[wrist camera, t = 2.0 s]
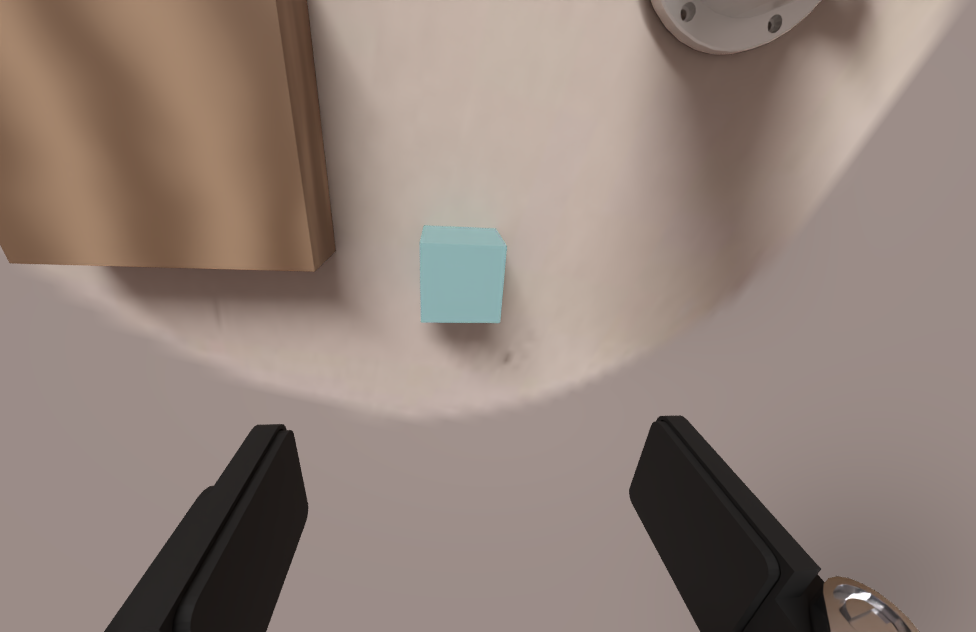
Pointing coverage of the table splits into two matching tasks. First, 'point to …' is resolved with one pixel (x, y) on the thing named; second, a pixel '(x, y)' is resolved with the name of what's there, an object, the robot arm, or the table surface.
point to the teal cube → (461, 274)
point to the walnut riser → (161, 135)
